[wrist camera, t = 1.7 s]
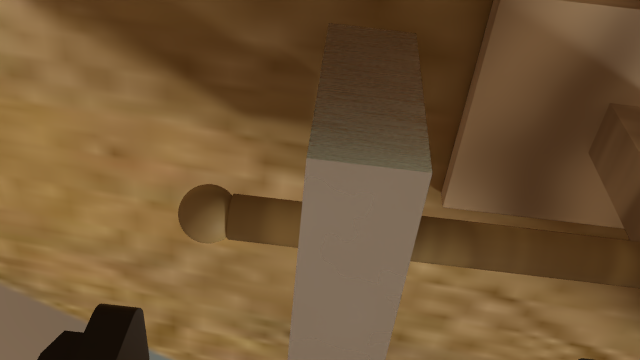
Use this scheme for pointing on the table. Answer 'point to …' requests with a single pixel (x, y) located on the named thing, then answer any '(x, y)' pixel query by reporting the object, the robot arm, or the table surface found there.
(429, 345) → the table surface
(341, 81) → the pinkish grey arch
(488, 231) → the stand
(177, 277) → the table surface
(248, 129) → the table surface
